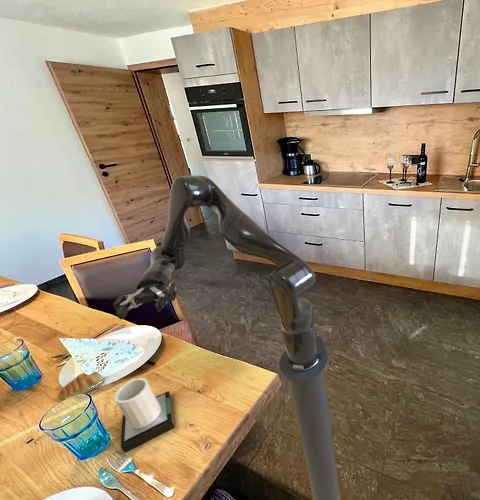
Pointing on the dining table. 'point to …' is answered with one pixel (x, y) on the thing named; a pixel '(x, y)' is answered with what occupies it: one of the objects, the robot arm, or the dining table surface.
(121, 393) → the cup
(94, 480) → the dining table surface
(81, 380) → the pastry
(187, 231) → the robot arm
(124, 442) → the scale
